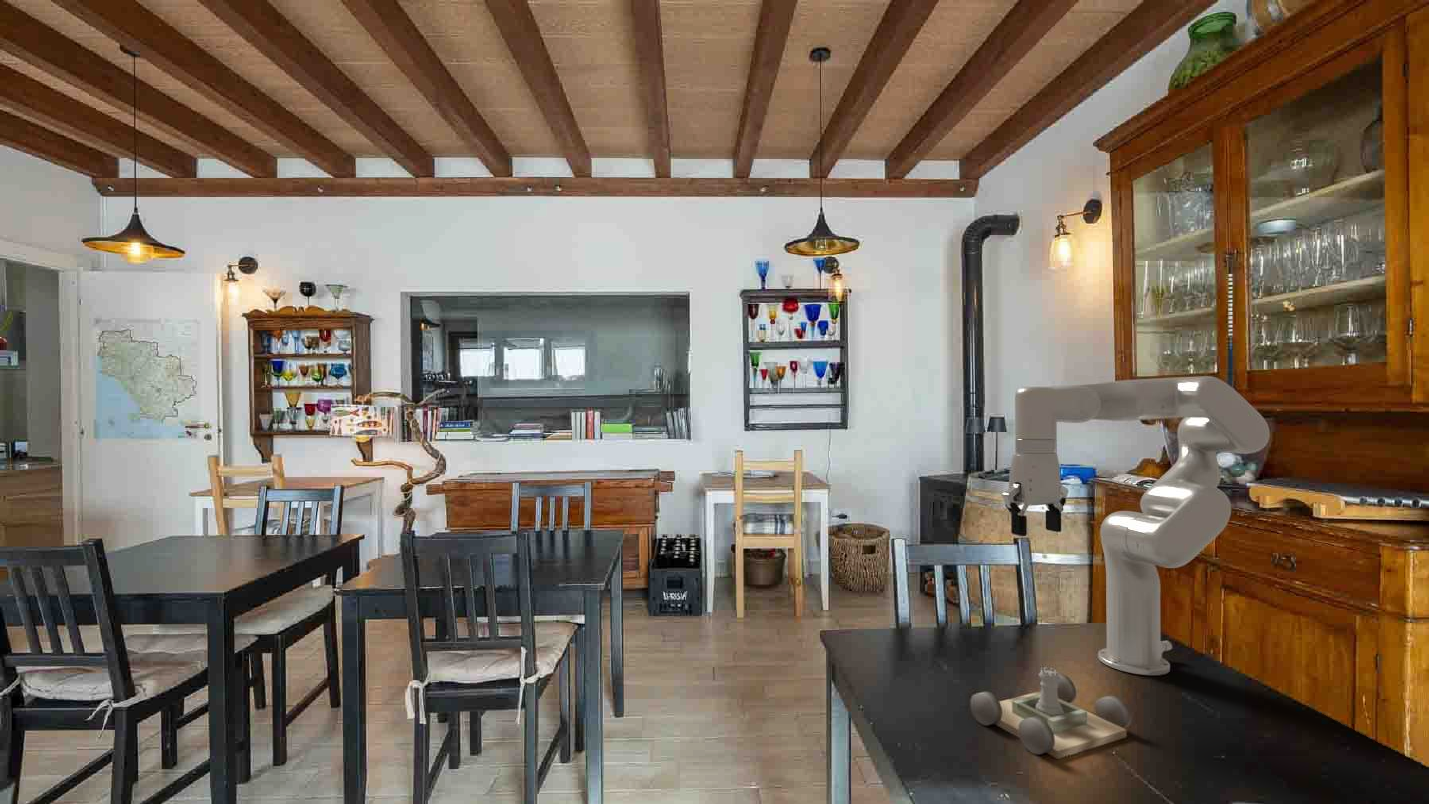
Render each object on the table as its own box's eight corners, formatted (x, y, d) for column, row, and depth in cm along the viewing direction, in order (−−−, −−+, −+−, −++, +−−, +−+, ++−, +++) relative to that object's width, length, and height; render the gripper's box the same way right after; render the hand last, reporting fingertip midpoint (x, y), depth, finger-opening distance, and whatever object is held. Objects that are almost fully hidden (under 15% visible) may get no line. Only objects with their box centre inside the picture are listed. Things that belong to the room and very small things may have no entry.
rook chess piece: (1068, 725, 108) (1068, 676, 108) (1039, 722, 109) (1039, 674, 109) (1059, 712, 113) (1058, 665, 113) (1031, 710, 114) (1031, 664, 114)
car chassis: (1049, 695, 122) (1049, 668, 122) (1134, 734, 108) (1134, 703, 108) (968, 716, 114) (968, 687, 114) (1048, 762, 99) (1048, 729, 99)
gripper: (1049, 445, 139) (1050, 526, 139) (989, 448, 132) (989, 533, 132) (1082, 447, 132) (1082, 532, 132) (1020, 450, 125) (1020, 540, 125)
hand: (1036, 532), depth 132 cm, fingers open, 9 cm apart
